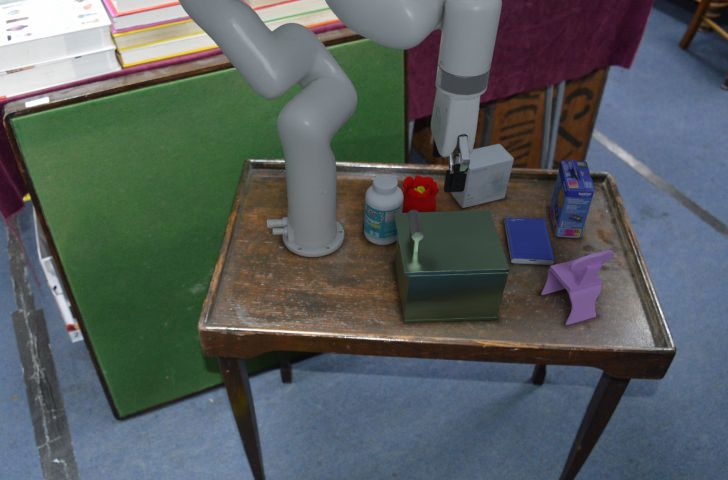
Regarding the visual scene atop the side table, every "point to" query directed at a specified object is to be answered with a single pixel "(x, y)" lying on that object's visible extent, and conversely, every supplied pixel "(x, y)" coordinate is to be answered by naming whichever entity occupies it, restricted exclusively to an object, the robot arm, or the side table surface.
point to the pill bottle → (382, 209)
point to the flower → (419, 194)
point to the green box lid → (449, 243)
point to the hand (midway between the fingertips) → (447, 173)
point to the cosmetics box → (485, 176)
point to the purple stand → (579, 283)
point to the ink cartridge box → (571, 199)
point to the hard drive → (528, 241)
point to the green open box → (449, 295)
